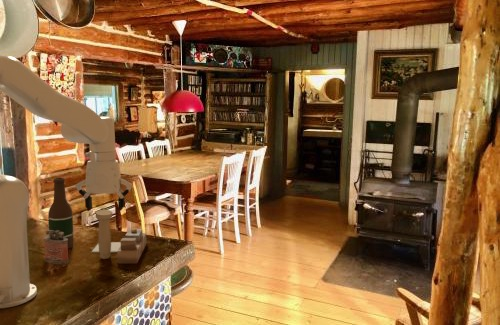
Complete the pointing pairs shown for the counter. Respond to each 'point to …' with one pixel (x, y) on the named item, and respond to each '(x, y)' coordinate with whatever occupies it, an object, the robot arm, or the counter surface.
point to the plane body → (131, 246)
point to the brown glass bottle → (61, 212)
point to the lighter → (56, 247)
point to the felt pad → (114, 247)
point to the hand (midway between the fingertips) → (105, 209)
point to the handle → (104, 233)
